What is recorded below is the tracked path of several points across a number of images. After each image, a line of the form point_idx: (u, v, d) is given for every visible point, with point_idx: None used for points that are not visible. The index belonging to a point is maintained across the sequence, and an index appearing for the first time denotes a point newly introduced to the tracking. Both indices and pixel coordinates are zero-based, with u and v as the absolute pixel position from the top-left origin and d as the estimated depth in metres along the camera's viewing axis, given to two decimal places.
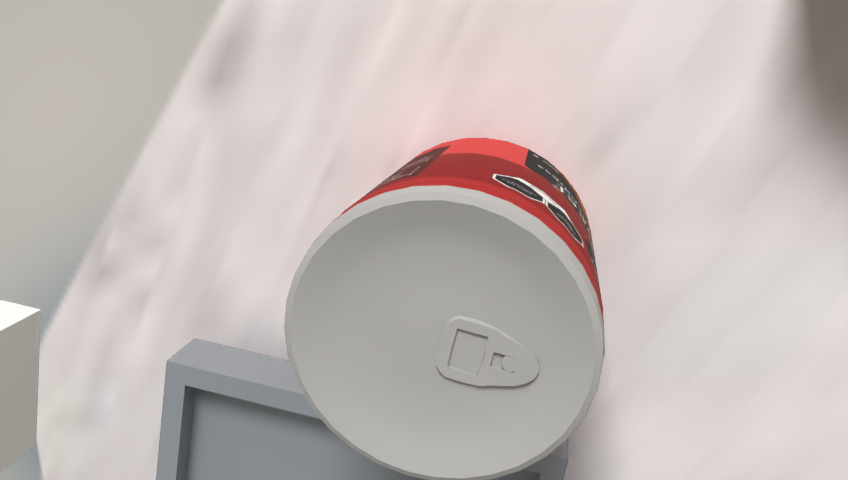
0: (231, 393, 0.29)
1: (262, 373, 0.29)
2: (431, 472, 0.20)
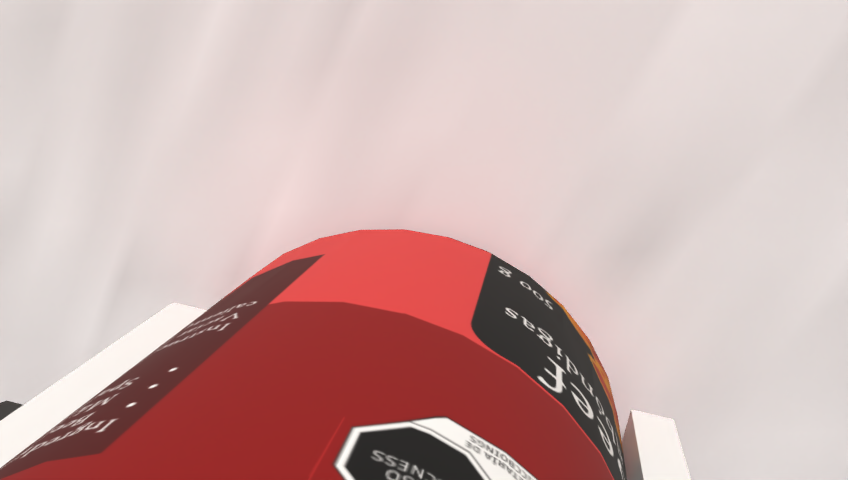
0: None
1: None
2: None
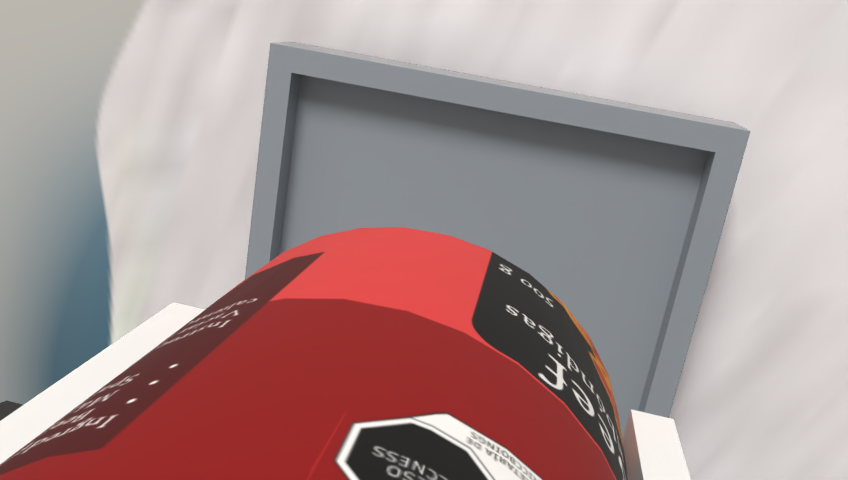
0: (346, 78, 0.25)
1: (380, 61, 0.25)
2: None
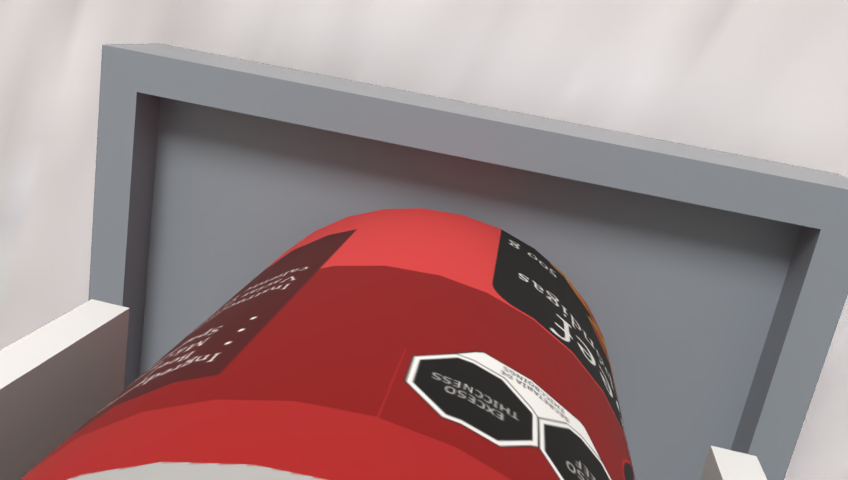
0: (222, 101, 0.16)
1: (279, 74, 0.16)
2: None
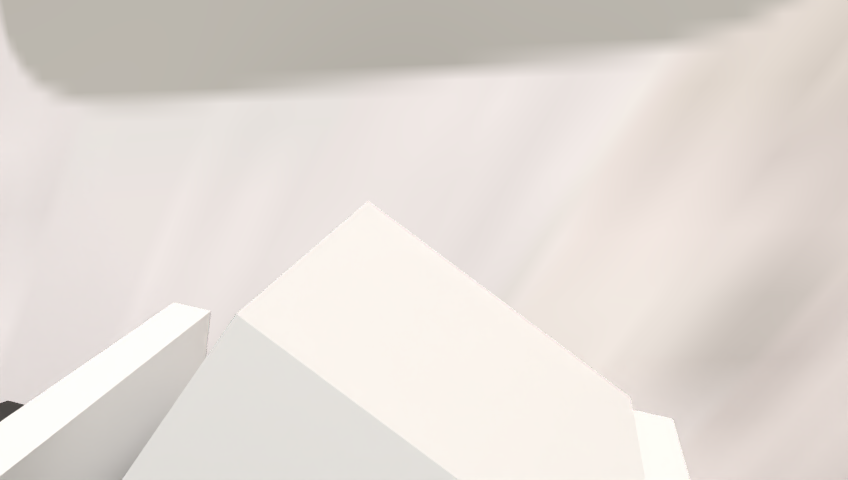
0: None
1: None
2: None
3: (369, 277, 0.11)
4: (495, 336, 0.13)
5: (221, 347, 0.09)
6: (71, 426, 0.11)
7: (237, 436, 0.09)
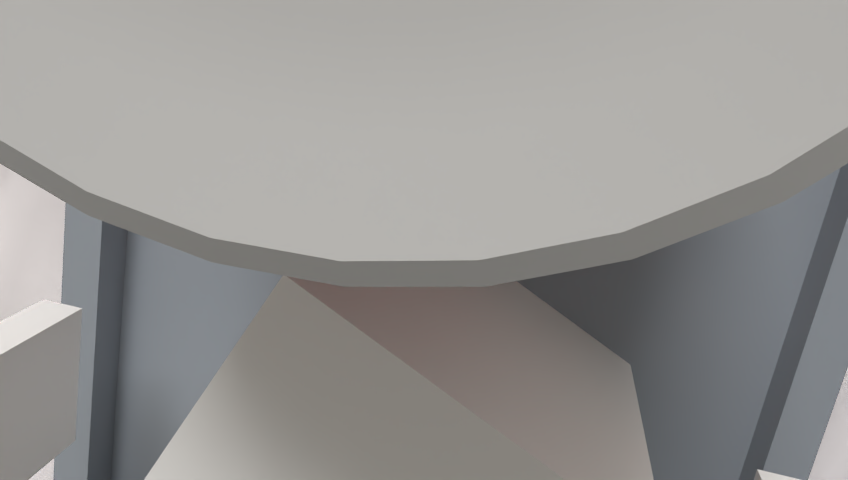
0: None
1: None
2: (329, 240, 0.04)
3: None
4: (506, 306, 0.14)
5: (270, 304, 0.10)
6: None
7: (284, 383, 0.10)
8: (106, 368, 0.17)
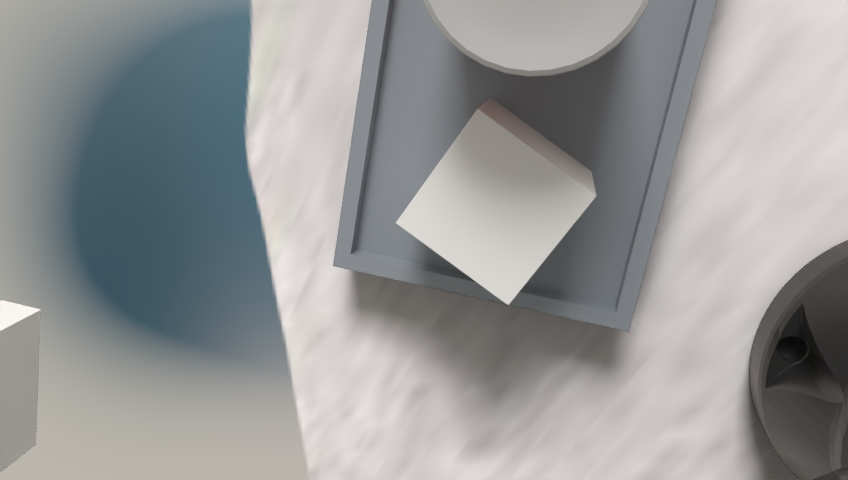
0: None
1: None
2: (526, 67, 0.26)
3: (501, 114, 0.35)
4: (541, 139, 0.36)
5: (473, 118, 0.32)
6: None
7: (475, 145, 0.32)
8: (363, 180, 0.39)
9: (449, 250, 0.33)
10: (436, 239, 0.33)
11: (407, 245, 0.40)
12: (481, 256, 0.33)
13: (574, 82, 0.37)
